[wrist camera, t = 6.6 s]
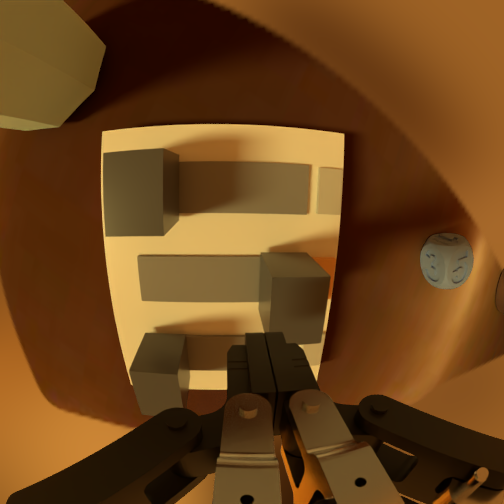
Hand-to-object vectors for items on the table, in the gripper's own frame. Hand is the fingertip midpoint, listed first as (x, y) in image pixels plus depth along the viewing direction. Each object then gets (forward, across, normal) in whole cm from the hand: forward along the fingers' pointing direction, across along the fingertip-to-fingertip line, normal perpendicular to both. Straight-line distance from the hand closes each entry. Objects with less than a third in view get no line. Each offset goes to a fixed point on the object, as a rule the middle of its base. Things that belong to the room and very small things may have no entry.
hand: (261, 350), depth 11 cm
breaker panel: (+11, +2, 0) cm, 11 cm away
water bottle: (+10, +16, -16) cm, 25 cm away
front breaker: (+7, +6, -6) cm, 11 cm away
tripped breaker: (+8, -2, 0) cm, 8 cm away
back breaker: (+7, +6, +6) cm, 11 cm away
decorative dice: (+11, -18, -1) cm, 21 cm away
